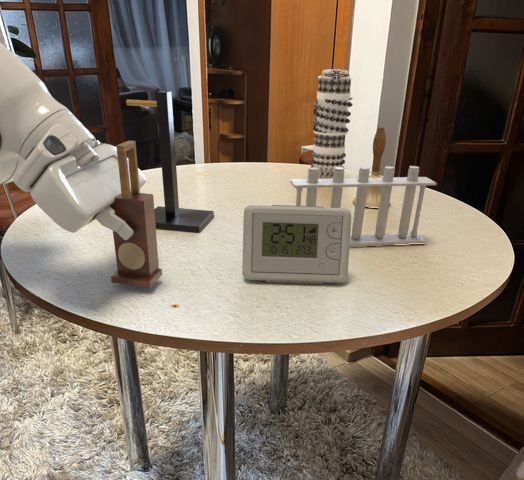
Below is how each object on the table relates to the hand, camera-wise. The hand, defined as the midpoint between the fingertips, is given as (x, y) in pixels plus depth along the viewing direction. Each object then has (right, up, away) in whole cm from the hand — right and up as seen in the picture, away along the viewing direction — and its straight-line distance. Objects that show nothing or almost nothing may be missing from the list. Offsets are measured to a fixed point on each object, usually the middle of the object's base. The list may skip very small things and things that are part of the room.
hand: (138, 230), depth 72 cm
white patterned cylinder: (+34, +26, +58) cm, 72 cm away
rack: (0, +9, +29) cm, 30 cm away
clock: (-1, -6, +4) cm, 7 cm away
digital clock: (+22, -6, +8) cm, 24 cm away
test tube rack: (+34, +3, +21) cm, 40 cm away
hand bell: (+42, +16, +43) cm, 62 cm away
